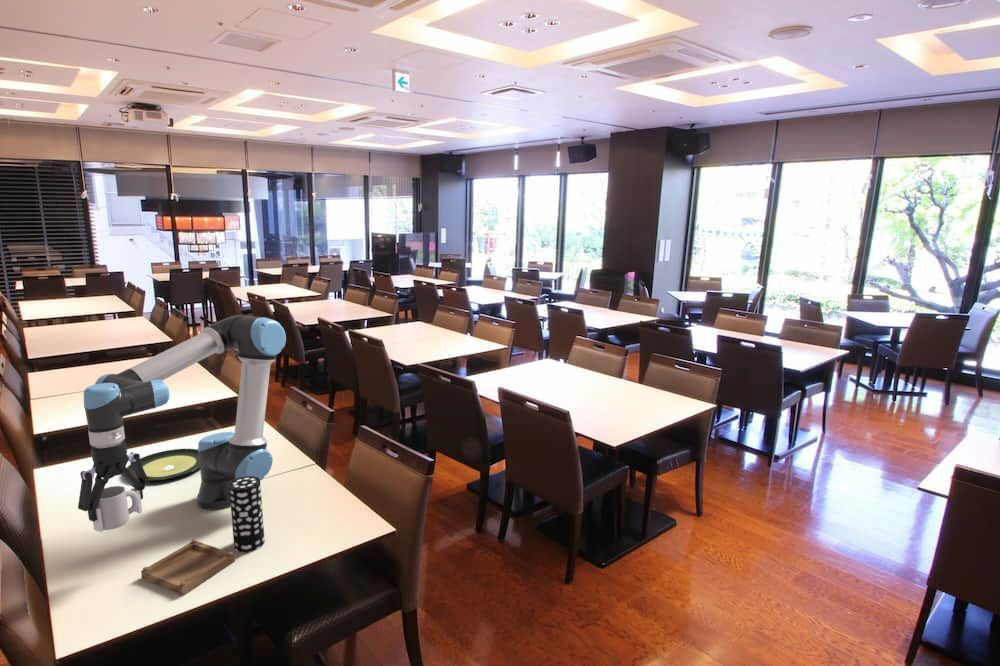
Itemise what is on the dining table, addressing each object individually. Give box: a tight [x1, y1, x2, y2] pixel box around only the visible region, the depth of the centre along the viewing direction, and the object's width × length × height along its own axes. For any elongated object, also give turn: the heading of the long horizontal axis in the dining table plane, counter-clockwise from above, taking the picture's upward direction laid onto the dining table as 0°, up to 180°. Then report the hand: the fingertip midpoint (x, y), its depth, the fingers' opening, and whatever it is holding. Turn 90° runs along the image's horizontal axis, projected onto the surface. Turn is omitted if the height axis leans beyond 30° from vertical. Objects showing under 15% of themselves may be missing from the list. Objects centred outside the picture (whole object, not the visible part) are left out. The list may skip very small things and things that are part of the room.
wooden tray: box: [140, 538, 236, 596], centre depth 153 cm, size 16×16×3 cm
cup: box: [97, 485, 139, 531], centre depth 148 cm, size 7×10×9 cm
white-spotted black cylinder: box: [229, 476, 266, 553], centre depth 163 cm, size 8×8×20 cm
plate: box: [126, 448, 200, 482], centre depth 213 cm, size 28×28×2 cm
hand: (118, 520), depth 148 cm, fingers closed on cup, 10 cm apart
